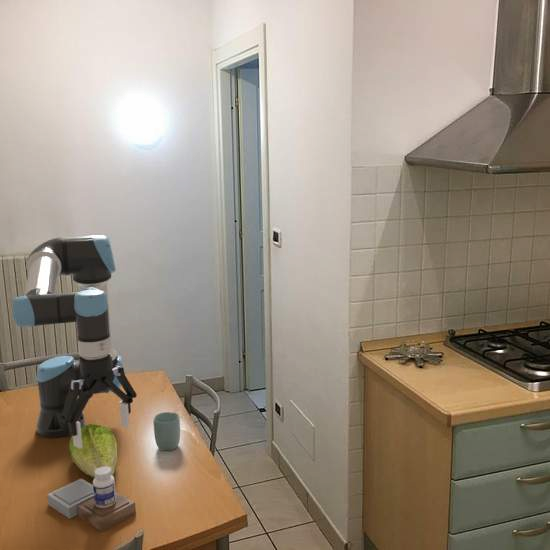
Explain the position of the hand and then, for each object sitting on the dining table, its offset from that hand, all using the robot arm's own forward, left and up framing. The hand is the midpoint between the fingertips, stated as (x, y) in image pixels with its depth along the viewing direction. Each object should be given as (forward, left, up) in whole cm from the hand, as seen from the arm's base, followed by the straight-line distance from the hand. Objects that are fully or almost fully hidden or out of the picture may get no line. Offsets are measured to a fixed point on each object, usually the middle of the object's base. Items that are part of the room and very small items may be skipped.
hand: (102, 436), depth 156 cm
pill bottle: (+1, -1, -18) cm, 18 cm away
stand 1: (-10, -3, -21) cm, 23 cm away
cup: (-15, +32, -21) cm, 41 cm away
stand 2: (+1, -1, -21) cm, 21 cm away
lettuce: (-21, +11, -21) cm, 32 cm away
